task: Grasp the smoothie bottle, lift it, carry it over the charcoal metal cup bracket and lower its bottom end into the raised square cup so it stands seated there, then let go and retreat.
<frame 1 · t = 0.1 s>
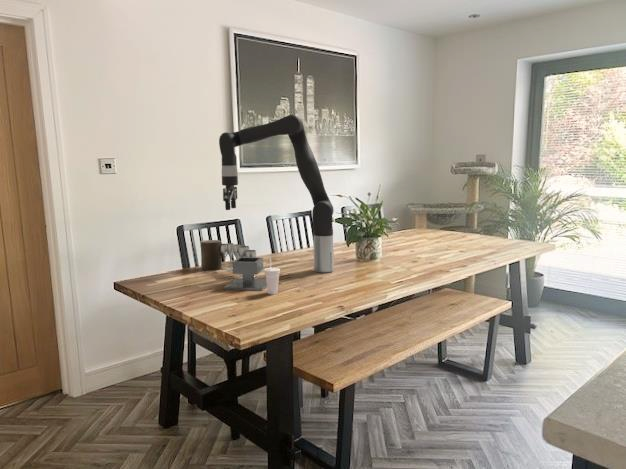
hand: (230, 209, 235), 29 cm above the table, fingers open, 8 cm apart
pillar candle: (211, 269, 239), on the table, touching goblet set
cup bracket: (248, 285, 207), on the table
smoothie: (272, 293, 194), on the table
goblet set: (237, 272, 231), on the table, touching pillar candle
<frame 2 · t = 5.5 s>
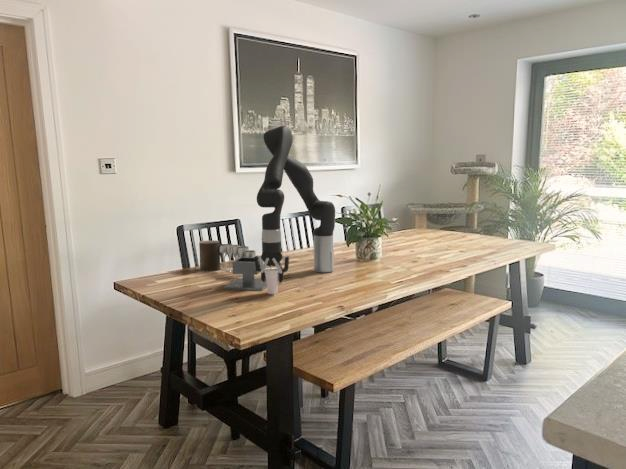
hand: (272, 281, 194), 5 cm above the table, fingers closed on smoothie, 6 cm apart
pillar candle: (210, 269, 238), on the table, touching goblet set
smoothie: (272, 293, 194), on the table, touching gripper
goblet set: (236, 273, 230), on the table, touching pillar candle
when the fingers open (13 cm above the table, at t = 13.1 s): smoothie drops 1 cm, resting on cup bracket.
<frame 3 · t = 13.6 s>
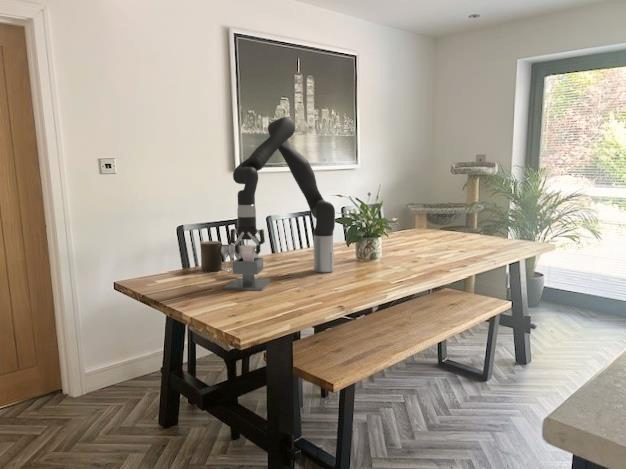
hand: (247, 253, 205), 14 cm above the table, fingers open, 8 cm apart
pillar candle: (211, 270, 236), on the table, touching goblet set
smoothie: (248, 269, 206), point 7 cm above the table, touching cup bracket
goblet set: (238, 274, 228), on the table, touching pillar candle
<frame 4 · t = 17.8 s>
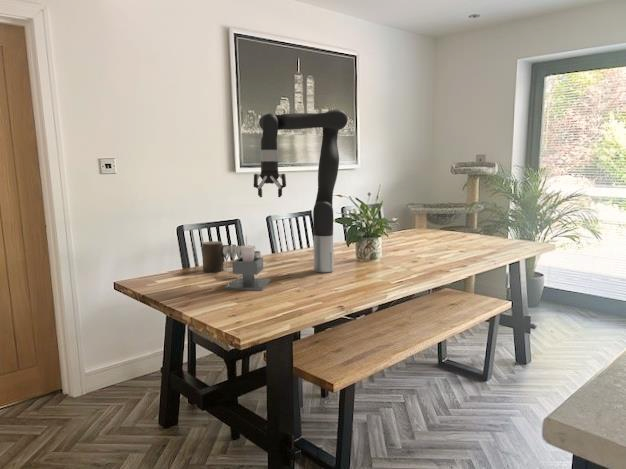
hand: (270, 197, 217), 36 cm above the table, fingers open, 8 cm apart
pillar candle: (213, 271, 235), on the table, touching goblet set
goblet set: (240, 274, 228), on the table, touching pillar candle
everything else where it was.
at the end: smoothie 0.1 cm off-centre on the cup bracket, point 6.8 cm above the cup bracket's base; smoothie tilted 0°; the gripper is holding nothing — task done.
